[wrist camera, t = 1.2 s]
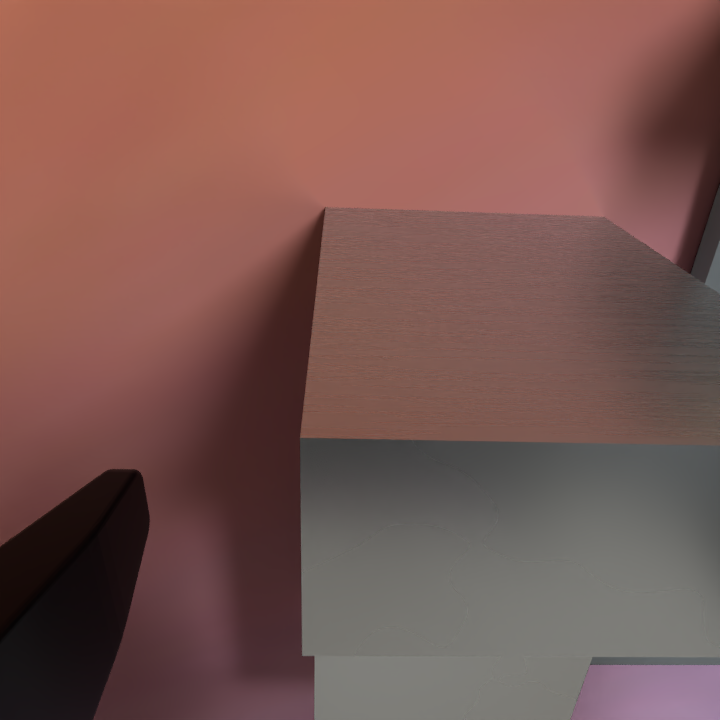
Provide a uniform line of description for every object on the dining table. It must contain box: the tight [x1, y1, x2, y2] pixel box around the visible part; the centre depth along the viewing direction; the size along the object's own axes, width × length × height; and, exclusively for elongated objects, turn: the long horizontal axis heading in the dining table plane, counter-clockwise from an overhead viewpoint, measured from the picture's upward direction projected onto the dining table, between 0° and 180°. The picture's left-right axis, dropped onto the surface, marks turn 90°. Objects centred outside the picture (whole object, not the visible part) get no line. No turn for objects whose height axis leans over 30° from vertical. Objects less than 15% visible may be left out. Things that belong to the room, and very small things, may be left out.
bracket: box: [300, 207, 720, 720], centre depth 8 cm, size 8×4×6 cm, turn 178°
